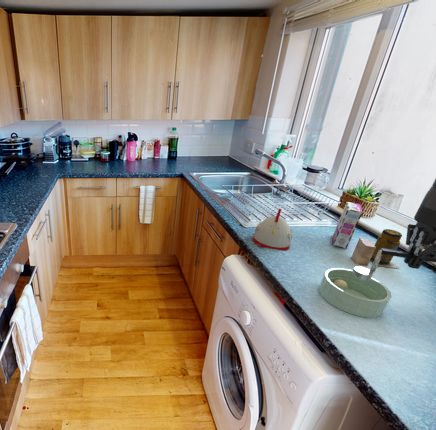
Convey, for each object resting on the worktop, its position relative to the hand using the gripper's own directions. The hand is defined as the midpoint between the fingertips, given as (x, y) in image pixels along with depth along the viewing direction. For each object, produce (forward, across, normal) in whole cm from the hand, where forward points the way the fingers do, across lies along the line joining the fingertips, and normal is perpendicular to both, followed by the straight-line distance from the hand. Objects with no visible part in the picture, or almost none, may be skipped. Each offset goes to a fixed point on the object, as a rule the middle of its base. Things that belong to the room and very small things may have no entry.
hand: (410, 265), depth 78 cm
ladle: (+6, 0, +2) cm, 6 cm away
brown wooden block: (+15, +27, -2) cm, 31 cm away
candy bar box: (+16, +42, 0) cm, 45 cm away
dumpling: (+15, +4, +12) cm, 19 cm away
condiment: (+16, +31, -10) cm, 36 cm away
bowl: (+16, 0, +10) cm, 18 cm away
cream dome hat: (+16, +30, +28) cm, 44 cm away
